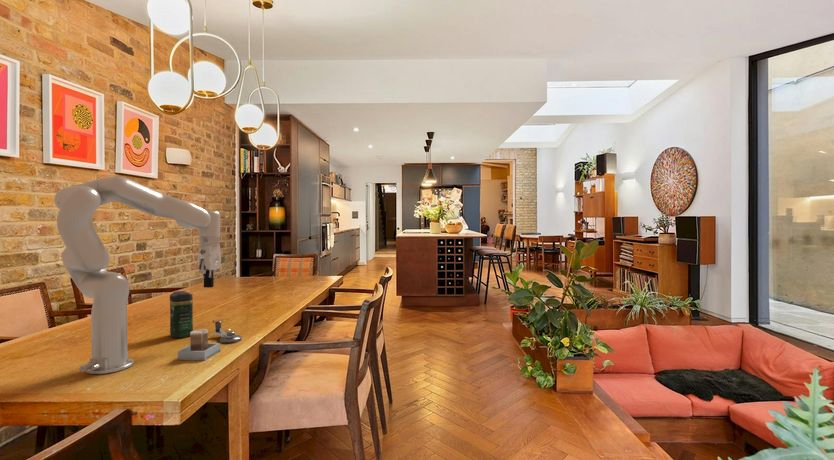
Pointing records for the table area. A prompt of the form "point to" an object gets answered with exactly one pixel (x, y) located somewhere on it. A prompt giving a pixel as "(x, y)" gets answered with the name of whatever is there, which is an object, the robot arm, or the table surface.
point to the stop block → (199, 340)
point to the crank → (219, 331)
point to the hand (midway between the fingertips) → (208, 287)
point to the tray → (198, 352)
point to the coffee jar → (181, 314)
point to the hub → (231, 339)
